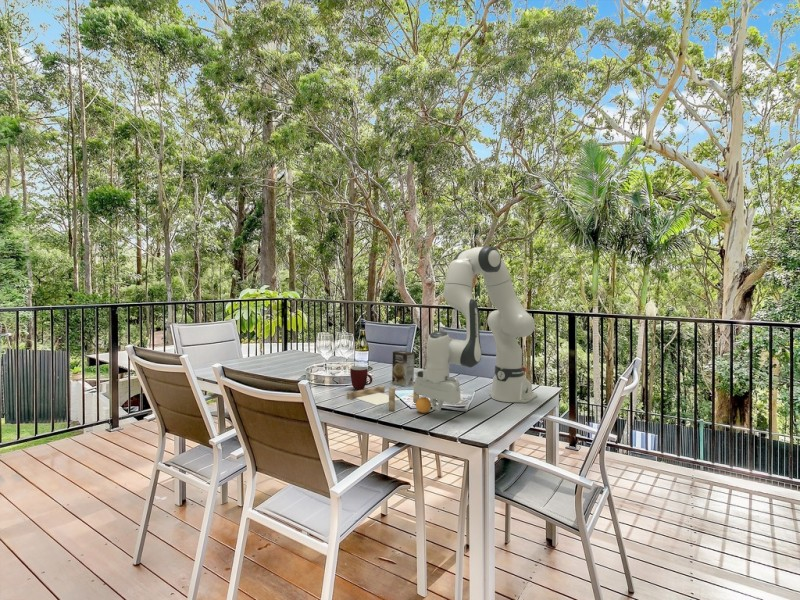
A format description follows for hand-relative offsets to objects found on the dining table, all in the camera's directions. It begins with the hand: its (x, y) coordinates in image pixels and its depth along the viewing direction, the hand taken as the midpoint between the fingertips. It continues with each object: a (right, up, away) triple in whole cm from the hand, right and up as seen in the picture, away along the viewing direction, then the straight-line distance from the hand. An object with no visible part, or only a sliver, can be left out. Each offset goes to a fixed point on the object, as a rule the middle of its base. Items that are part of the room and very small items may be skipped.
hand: (436, 410), depth 176 cm
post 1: (-17, -2, +6) cm, 18 cm away
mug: (-32, 0, +38) cm, 49 cm away
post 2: (-7, -1, +16) cm, 17 cm away
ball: (-5, +1, +4) cm, 6 cm away
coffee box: (-13, +1, +49) cm, 51 cm away
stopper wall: (-29, 0, +28) cm, 40 cm away
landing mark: (-23, 0, +22) cm, 32 cm away
